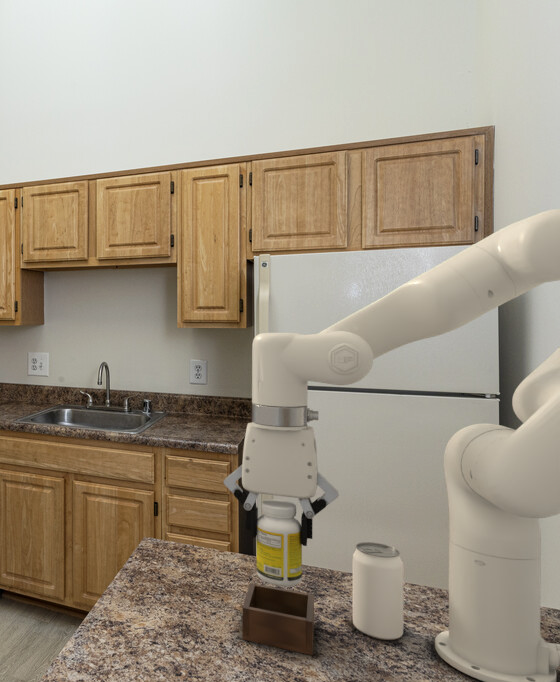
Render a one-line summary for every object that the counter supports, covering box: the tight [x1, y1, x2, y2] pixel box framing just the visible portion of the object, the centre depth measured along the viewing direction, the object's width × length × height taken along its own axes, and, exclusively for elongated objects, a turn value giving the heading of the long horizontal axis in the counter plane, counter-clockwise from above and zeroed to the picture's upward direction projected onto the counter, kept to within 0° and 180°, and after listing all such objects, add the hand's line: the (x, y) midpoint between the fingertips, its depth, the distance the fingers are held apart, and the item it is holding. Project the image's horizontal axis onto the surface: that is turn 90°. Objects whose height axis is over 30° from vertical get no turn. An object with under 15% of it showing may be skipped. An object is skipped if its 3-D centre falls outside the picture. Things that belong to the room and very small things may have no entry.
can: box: [352, 541, 404, 641], centre depth 83 cm, size 6×6×12 cm
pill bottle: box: [256, 498, 303, 587], centre depth 82 cm, size 6×6×11 cm
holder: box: [242, 582, 315, 656], centre depth 82 cm, size 9×9×5 cm
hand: (278, 537), depth 82 cm, fingers closed on pill bottle, 6 cm apart
